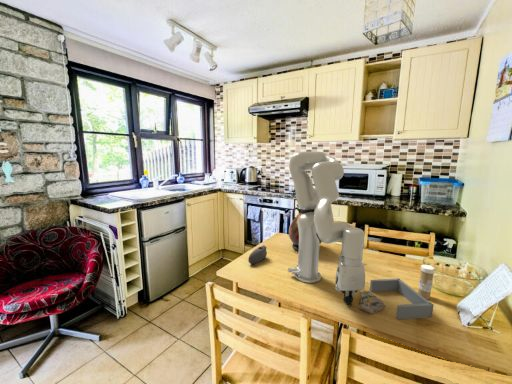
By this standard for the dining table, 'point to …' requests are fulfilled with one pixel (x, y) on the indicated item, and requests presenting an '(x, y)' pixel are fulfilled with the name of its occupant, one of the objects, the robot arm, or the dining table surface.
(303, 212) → the amphora vase
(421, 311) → the box
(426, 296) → the sprinkles bottle
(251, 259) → the perforated stone tool
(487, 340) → the dining table surface
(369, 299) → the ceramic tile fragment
